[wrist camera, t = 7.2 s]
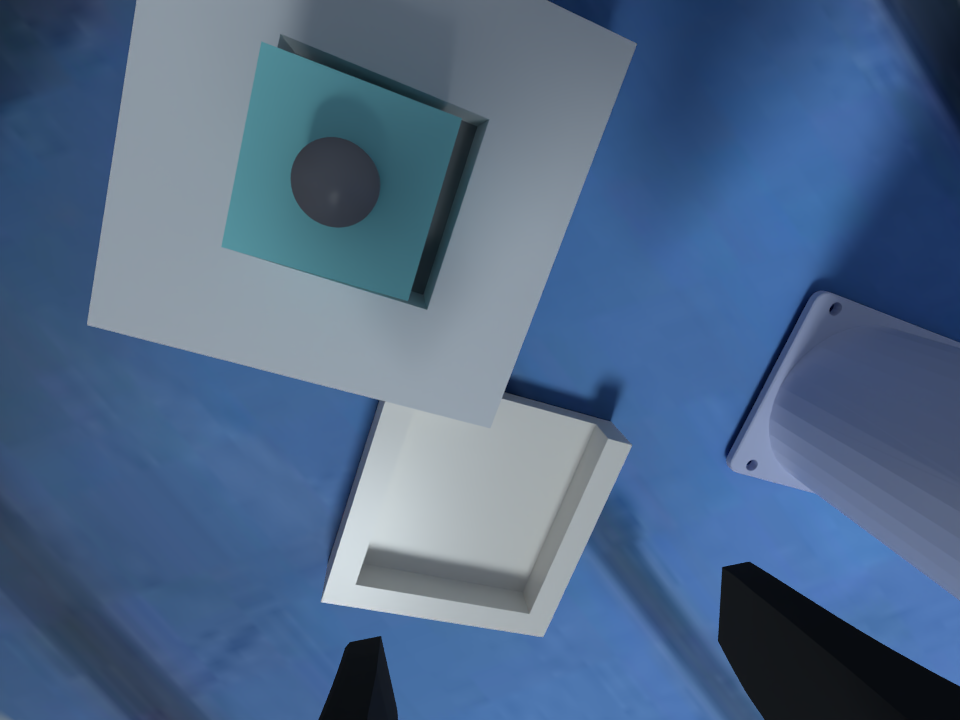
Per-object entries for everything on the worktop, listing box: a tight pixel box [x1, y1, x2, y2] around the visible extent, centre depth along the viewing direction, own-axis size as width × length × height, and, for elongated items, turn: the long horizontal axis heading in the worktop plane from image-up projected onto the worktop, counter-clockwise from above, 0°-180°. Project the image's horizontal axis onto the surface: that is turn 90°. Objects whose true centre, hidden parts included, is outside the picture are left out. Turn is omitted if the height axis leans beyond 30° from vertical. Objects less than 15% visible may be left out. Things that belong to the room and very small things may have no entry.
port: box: [87, 0, 637, 428], centre depth 16 cm, size 12×12×3 cm
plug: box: [221, 41, 462, 301], centre depth 13 cm, size 4×4×7 cm
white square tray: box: [321, 392, 632, 637], centre depth 20 cm, size 9×9×2 cm
